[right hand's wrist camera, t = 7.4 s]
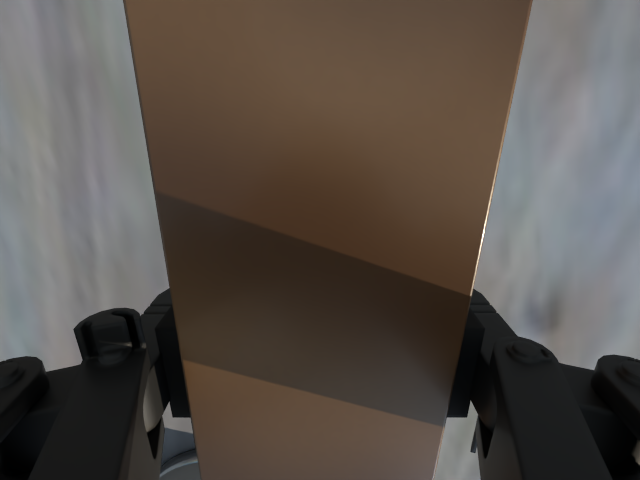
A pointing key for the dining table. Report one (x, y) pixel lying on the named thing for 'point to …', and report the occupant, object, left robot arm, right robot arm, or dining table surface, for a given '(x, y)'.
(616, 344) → the dining table surface
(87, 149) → the dining table surface
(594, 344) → the dining table surface
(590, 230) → the dining table surface
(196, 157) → the post
